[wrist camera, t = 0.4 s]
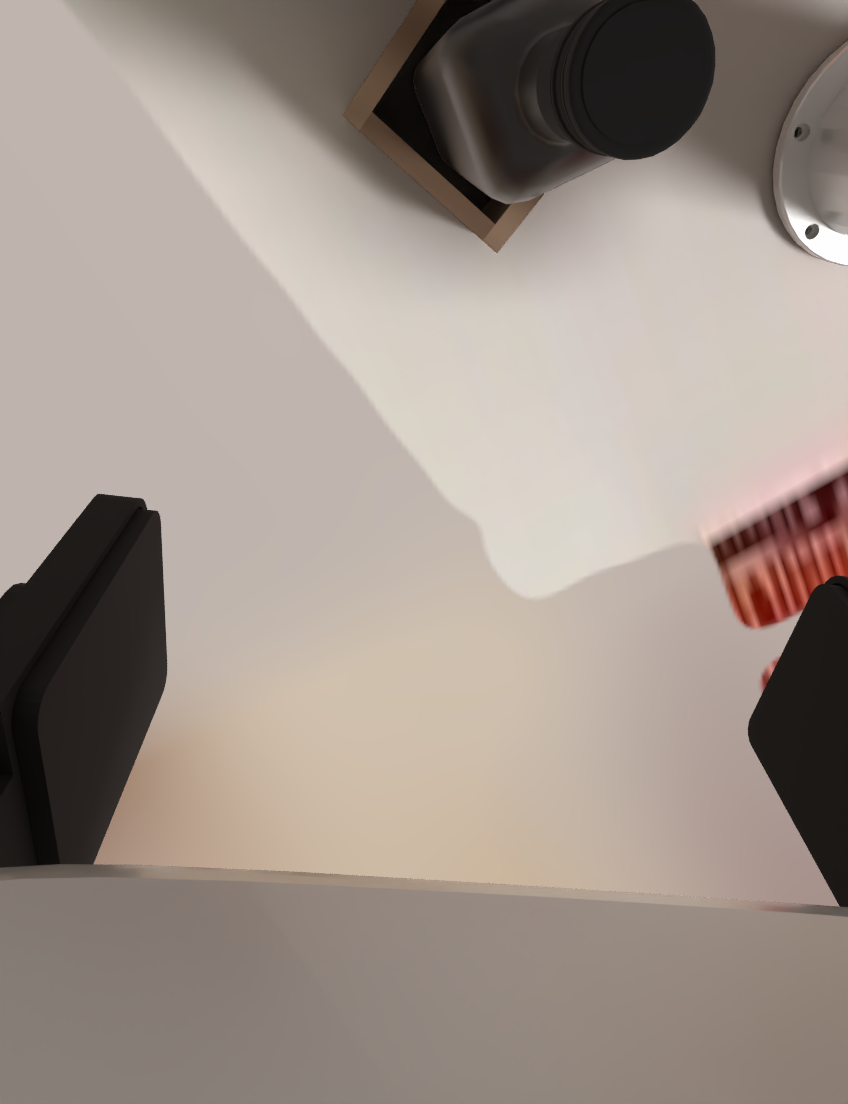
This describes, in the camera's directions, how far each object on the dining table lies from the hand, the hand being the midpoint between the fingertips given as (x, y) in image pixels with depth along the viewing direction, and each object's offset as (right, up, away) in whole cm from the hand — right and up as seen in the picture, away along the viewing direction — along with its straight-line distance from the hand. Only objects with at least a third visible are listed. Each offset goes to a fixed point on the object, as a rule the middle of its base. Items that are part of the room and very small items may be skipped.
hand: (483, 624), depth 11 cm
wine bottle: (+2, +26, +30) cm, 40 cm away
